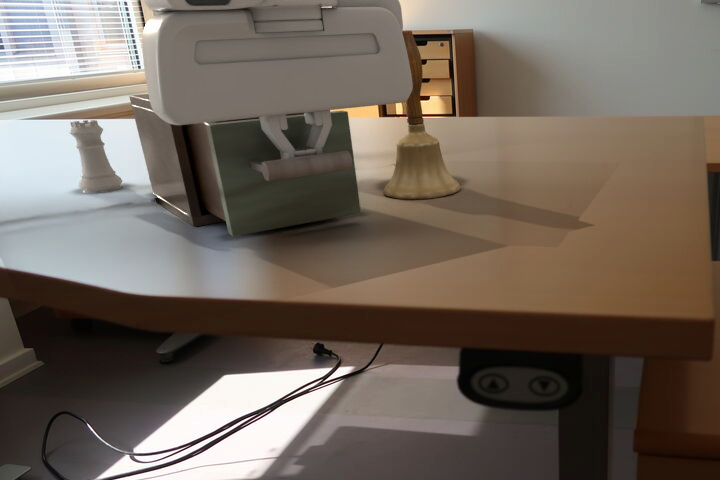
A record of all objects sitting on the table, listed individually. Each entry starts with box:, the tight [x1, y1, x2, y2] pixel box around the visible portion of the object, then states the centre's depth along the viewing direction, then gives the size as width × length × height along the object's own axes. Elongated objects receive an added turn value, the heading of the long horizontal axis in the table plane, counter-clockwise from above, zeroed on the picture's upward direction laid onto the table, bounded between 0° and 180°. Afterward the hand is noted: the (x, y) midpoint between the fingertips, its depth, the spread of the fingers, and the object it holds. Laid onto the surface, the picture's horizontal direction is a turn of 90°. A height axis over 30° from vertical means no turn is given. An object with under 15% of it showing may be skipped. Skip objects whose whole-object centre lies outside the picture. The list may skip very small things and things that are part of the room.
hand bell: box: [383, 30, 461, 200], centre depth 77 cm, size 8×8×16 cm
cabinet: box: [128, 93, 226, 228], centre depth 75 cm, size 15×13×11 cm
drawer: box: [182, 110, 362, 237], centre depth 66 cm, size 18×12×9 cm, turn 38°
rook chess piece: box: [68, 119, 123, 194], centre depth 81 cm, size 4×4×8 cm
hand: (304, 171), depth 61 cm, fingers closed
